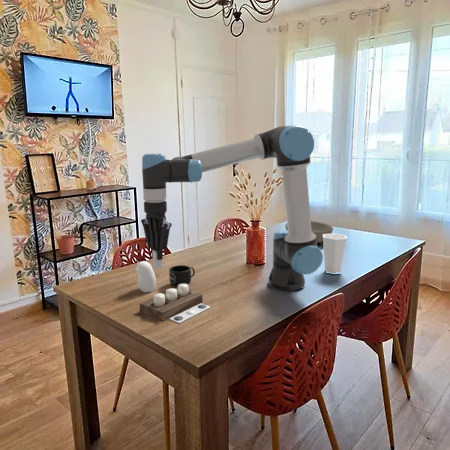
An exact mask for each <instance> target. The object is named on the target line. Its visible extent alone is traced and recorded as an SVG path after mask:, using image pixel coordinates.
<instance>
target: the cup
mask: <svg viewBox="0 0 450 450" xmlns="http://www.w3.org/2000/svg"><path fill="white" fill-rule="evenodd" d="M347 239H348V238H347V235H345V234H342V233H341V234H340V233H333V232H332V233H331V234H323V243H322V245H323V246H322V247H323V260H324V264H323V265H324V272H325V271H327V272H331V273H336V272H341V273H342V267H343V261H344V256H345V255H344V254H345V252H346V251H345V250H346V245H347Z"/></svg>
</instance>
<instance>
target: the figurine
mask: <svg viewBox="0 0 450 450" xmlns="http://www.w3.org/2000/svg"><path fill="white" fill-rule="evenodd" d="M135 269H136V273H137V276H138V278H137V279H136V284H137V286H138V287H139V290H140V292H142V293H151V292H154V291H155V290H156V288H157V278H156V274H155V272H154V269H153V267H152V265H151V263H150V262H148V261H145V260H143V261H139V262H138V263H137V264H136V267H135Z"/></svg>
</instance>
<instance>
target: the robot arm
mask: <svg viewBox="0 0 450 450" xmlns="http://www.w3.org/2000/svg"><path fill="white" fill-rule="evenodd" d="M314 148H315V139H314V136H313V134H312V132H311V131H310V130H309V129H307V128H306V127H305V126H301V125H297V124H295V125H294V124H292V125H287V126H286V125H285V126H283V125H281V126H277V127H274V128H272V129H270V130H267V131H265V132H262V133H261V132H260V133H257V134H254V136H253V138H248V139H245V140H241V141H238V142H234V143H230V144H227V145H221V146H218V147H214V148H211V149H207V150H202V151H199V152H195V153H192V154H191V153H190V154H188V155H183V156H176V157H173V158H172V159H166V155H165V154H164V153H145V154H144V155H143V156H142V158H141V167H142V168H141V170H142V185H143V186H142V196H143V197H142V199H143V201H144V202H143V211H144V213H145V217H144V218H143V219H141V220H140V223H141V224H142V228H143V231H144V236H145V242H146V246H147V247H148V248H150V250H151V257H152V265H153V267H152V269H153V270H158V269H161V268H163V258H164V256H163V252H164V250H167V248H168V243H169V236H170V232H171V231H170V230H171V227H172V225H173V224H172V222H168V221H167V216H166V212H167V211H168V205H167V203H168V202H167V201H166V200H167V183H170V184H171V183H196V182H197V183H198V182H201V180H202V179H203V178H202V177H203V173H206V172H209V171H213V170H217V169H222V168H225V167H229V166H232V165H236V164H240V163H243V162H248V161H252V160H256V159H259V160H266V159H276V165H277V168H279V169H280V170H281V172H282V183H283V191H284V192H283V194H284V202H285V212H286V223H287V225H288V230H286V229H285V230H277V231H275V232H274V234H273V239H272V242H273V244H272V247H273V251H272V268H271V270H270V273H269V277H268V282H267V283H268V285H269V286H270V287H271V288H273V289H275V290H278V291H285V292H286V291H288V292H293V291H292V290H295V291H298V290H297V289H300V288H302V287H304V288H305V286H306V280H305V276H304V275H311V274H313V273H315V272H317V271H318V269H319V268H320V267H321V265H322V263H323V260H324V253H323V252H322V250H321V249H320V248H319V247H318V244H317V240H316V235H315V234H314V233H312V231H311V221H312V220H311V211H310V209H311V207H310V198H309V197H310V196H309V186H308V185H309V183H308V173H307V167H308V166H309V165H310V164H311V155H312V153H313V152H314ZM304 285H305V286H304ZM302 289H303V288H302ZM300 290H301V289H300Z"/></svg>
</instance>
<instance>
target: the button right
mask: <svg viewBox="0 0 450 450" xmlns="http://www.w3.org/2000/svg"><path fill="white" fill-rule="evenodd" d="M177 288H178V295H179V296H181V297H185V296H187V295H189V290H190V288H189V284H179V285H178V287H177Z"/></svg>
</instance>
